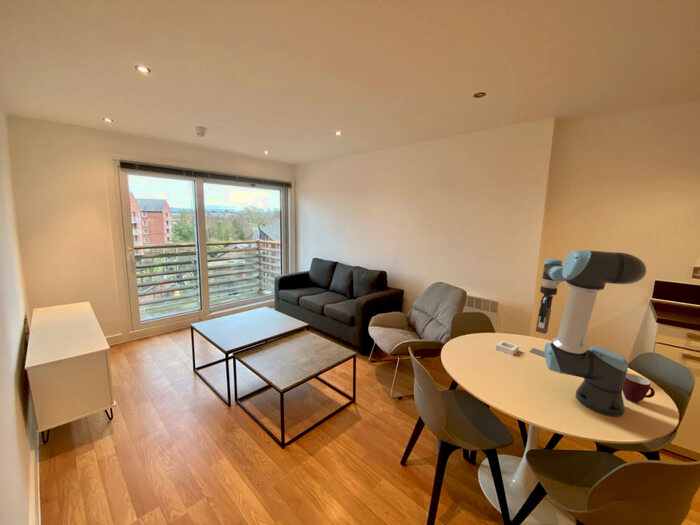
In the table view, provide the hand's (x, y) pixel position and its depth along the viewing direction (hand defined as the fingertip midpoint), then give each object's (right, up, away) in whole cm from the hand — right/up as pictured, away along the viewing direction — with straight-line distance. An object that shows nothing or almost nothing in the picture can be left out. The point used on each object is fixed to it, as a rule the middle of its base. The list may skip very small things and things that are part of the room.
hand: (542, 326), depth 155 cm
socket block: (-18, -15, +4) cm, 24 cm away
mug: (+13, -23, -37) cm, 46 cm away
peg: (0, -3, +1) cm, 3 cm away
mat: (-1, -16, +3) cm, 16 cm away
